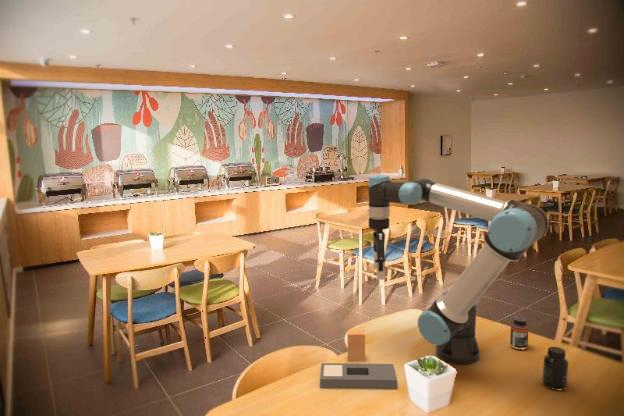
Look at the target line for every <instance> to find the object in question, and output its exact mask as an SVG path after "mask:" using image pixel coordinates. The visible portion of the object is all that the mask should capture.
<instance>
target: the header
mask: <svg viewBox="0 0 624 416" xmlns="http://www.w3.org/2000/svg"><path fill="white" fill-rule="evenodd" d="M394 366H395V365H394V363H349V362H347V363H343V362H341V363H335V362H331V363H329V362H325V363H324V362H322V363H321V365H320V377H319V384H320V385H319V389H354V390H355V389H359V390H360V389H364V390H365V389H367V390H371V389H372V390H373V389H374V390H375V389H376V390H397V389H398V379H397V374H396V369H395V367H394Z"/></svg>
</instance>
